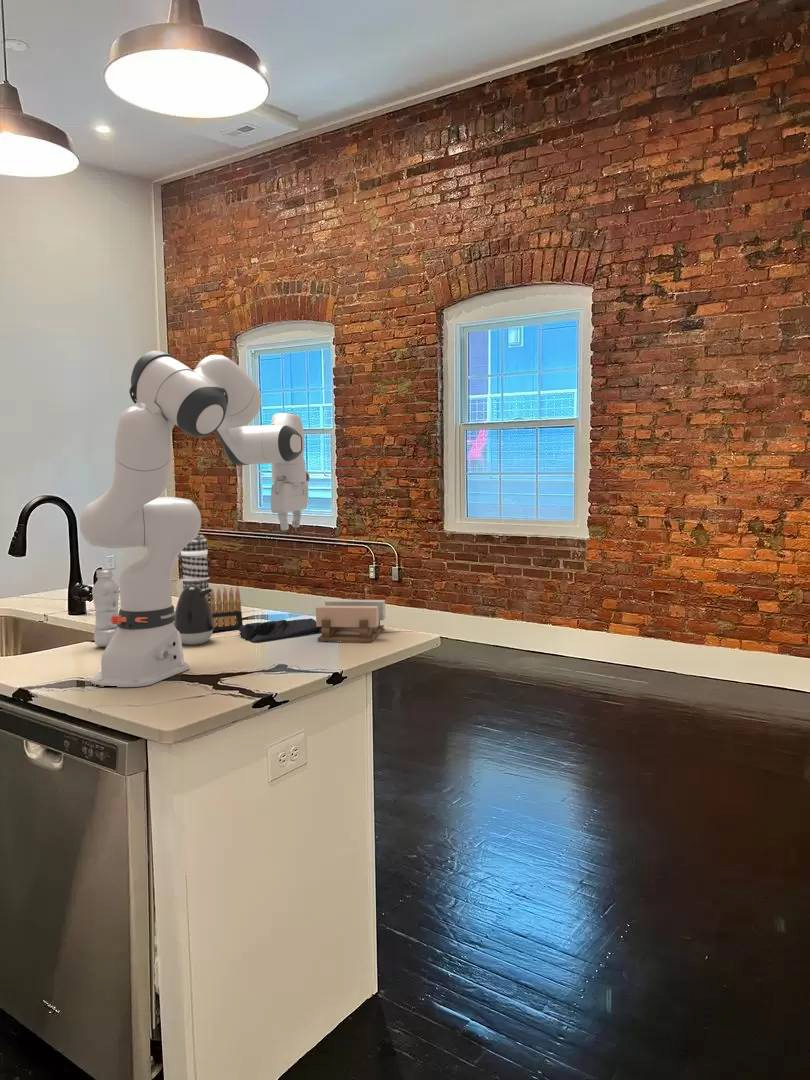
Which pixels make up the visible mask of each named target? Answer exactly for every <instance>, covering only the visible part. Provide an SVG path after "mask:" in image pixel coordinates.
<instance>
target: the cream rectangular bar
mask: <svg viewBox="0 0 810 1080" xmlns="http://www.w3.org/2000/svg"><path fill="white" fill-rule="evenodd" d="M324 606H378V611H379V620H380V621H384V620H386V618H387V617H386V599H327V600H325V601H324Z"/></svg>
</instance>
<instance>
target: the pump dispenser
mask: <svg viewBox="0 0 810 1080" xmlns="http://www.w3.org/2000/svg"><path fill="white" fill-rule="evenodd" d="M211 589H212V588H210V587H209V589H206V590H203V591H202V589H201V588H200V587H198V586H196V585H190V586H187V587H186V588H184V590H183V589H182V591H181V593H180V595H179V597H178V600H177V604H176V606H175V610H174V611H175V621H174V622H173V623H174V625H175V627H176V629H177V630H178V631H179V632H180V635H181V642H182V645H187V646H198V644H199V645H202V644H206V643H207V642H208V641H209V640H210V639H211V638H212V636H213V629H214V620H213V615H212V611H211V607H210V604H209V603H210V602H208V599H207V597H206V595H207V594H209V593H210V592H212V590H211Z"/></svg>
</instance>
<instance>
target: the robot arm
mask: <svg viewBox="0 0 810 1080" xmlns="http://www.w3.org/2000/svg"><path fill="white" fill-rule="evenodd" d="M128 391H129V395H130V399H131V401H132V402H133V403H134V405H132V406H129V407H127V408H126V409H124V411H123V412H122V413H121V415H120V417H119V420H118V424H117V428H116V434H115V440H114V441H115V443H114V474H113V480H112V483H111V484H110V486H109V487H108V489H107V490H105V492H104V493H103V494H101V496H100V497H98V498H97V499H95V500H93V501H91V502H88V504H87V505H85V507H84V508H83V510H82V511H81V514H80V516H79V517H80V518H79V529H80V530H79V531H80V533H81V535H82V536H83V538H84V540H85V541H86V542H87V543H88V544H89V545H90V546H93V547H99V548H105V549H106V548H107V549H125V548H142V547H143V548H146V553H145V555H144V556H143V557H142V558H141V559H140V560H137V561H136V562H133V563H132V564H130V565H128V566H126V568H124V569H123V571H122V572H121V573H120V575H119V579H118V581H119V582H118V583H119V585H118V587H119V597H120V598H119V600H120V609H118V610H119V611H118V616H117V615H112V616H111V617H112V618H111V619H112V620H111V623H112V624H117V626H118V628H117V631H116V632H115V634H114V636H113V637H112V639H111V641H110V642H109V644H108V646H107V647H105V649H104V650H103V651H102V654H101V659H100V670H101V671H100V672H98V673H97V674H96V675H94V676H93V677H91V678H90V679H89V683H90V682H92V683H95V684H100V685H109V686H117V687H116V688H136V687H147V686H150V685H153V684H156V683H158V682H161V681H163V680H165V679H168V678H170V677H173V676H175V675H178V674H180V673H183V672H185V671H187V670H190V664H189V663H188V662H185V658H184V651H183V643H182V642H181V635H180V632H179V631H178V630H177V629H176V627H175V625H174V621H175V611H176V610H175V606H174V604H173V602H172V601H173V600H172V583H173V582H172V577H173V570H174V566H175V563H176V562H177V559H178V558H179V554H181V551H182V550H183V548H184V547H185V546H186V545H187V544H188V543H190V542H191V541H192V540H193V539H194V538H195V537H196V536H197V535H199V532H200V529H201V526H202V515H201V512H200V510H199V508H198V506H197V504H196V503H194V501H192V500H191V499H187V498H183V497H176V496H175V497H174V496H162V495H163V494H164V493H165V491H166V490H167V488H168V486H169V485H170V480H171V479H170V477H171V458H172V457H171V455H172V454H171V451H172V449H171V447H172V445H171V435H172V431H173V430H174V427H175V426H176V427H178V429H180V431H182V432H184V433H186V434H187V435H189V436H193V437H195V438H203V437H206V436H208V435H211V434H213V433H215V435H216V437H217V439H218V440H219V442H220V444H221V445H222V447H223V450H224V454H225V455H226V457H227V459H228V460H229V461H230V462H231V463H233V465H234V466H246V465H247V466H248V465H260V464H261V465H262V464H263V465H265V464H267V465H268V464H270V465H271V483H272V485H271V486H270V487H271V488H270V510H271V513H272V514H277V518H278V521H279V524H280V525H279V526H280V530H281V531H289V529H290V524H289V522H288V515H289V514H288V513H290V512H292V513H291V514H292V520H291V526H292V528H299V527H300V526H301V517H302V510H303V511H304V510H306V509H307V508H308V502H309V484H308V483H310V474H309V473H308V472H307V470H306V469H307V468H306V461H305V459H304V452H305V447H306V446H305V433H304V427H303V426H304V425H303V422H302V418H301V416H300V415H298V414H295V413H294V412H293V413H292V412H277V413H274V414H273V415H272V417H271V422H270V424H264V425H261V424H259V425H248V424H250V423H251V422H253V421H254V420H255V418H256V417H257V416H258V414H259V412H260V409H261V406H262V395H261V393H260V389H259V388H258V386H257V384H256V383H255V382H254V381H253V379H252V378H251V377H250V376H249V374H248V373H247V372H246V371H245V370H244V368H242V367H240V366H239V364H238V363H236V362H235V361H234V360H232V359H230V357H228V356H226V355H223V354H211V355H208V356H206V357H204V358H203V359H201V360H200V361H199V362H198V363H197V365H196V367H195V369H191V368H190V367H189V366H187V365H186V364H184V363H183V362H181V361H179V360H178V359H177V357H175V356H173V355H171V354H170V353H167V352H165V351H163V350H162V351H161V350H151V351H148V352H146V353H144V354H143V355H142V356H140V357H139V359H138V360H137V361H136V363H135V364H134V366H133V369H132V372H131V376H130V387H129V390H128Z"/></svg>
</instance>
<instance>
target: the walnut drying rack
mask: <svg viewBox="0 0 810 1080" xmlns="http://www.w3.org/2000/svg"><path fill="white" fill-rule="evenodd" d="M321 621H322V629H321V635H319V636H318V637H317V642H318V641H332V642H331V643H334V642H333V641H336V642H335V643H349V642H362V644H371V643H372V642H373V641H375V639H376V638H377V637H378V636H379V635H380V634H381V633H382V632H383V631H384V630H385V625H383V624H381V620H379V625H378V626H377V627H368V620H360V621H359V627H330V620H321ZM383 627H384V628H383ZM337 641H339V642H337ZM340 641H341V642H340Z"/></svg>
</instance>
